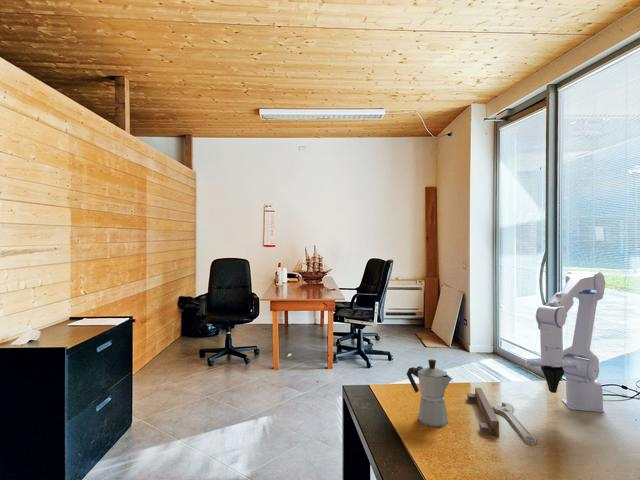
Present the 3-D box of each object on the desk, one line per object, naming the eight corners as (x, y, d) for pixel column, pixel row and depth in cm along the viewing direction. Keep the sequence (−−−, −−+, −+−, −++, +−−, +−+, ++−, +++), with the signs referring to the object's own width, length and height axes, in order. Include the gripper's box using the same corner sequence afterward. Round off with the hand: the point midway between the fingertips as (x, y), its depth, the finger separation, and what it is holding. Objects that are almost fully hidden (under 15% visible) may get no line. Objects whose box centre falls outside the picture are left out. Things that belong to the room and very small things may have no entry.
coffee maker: (459, 422, 115) (458, 361, 116) (446, 432, 109) (445, 367, 109) (414, 408, 125) (414, 352, 126) (400, 417, 119) (399, 357, 119)
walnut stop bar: (481, 400, 132) (481, 388, 132) (499, 436, 106) (498, 421, 106) (467, 399, 133) (467, 387, 133) (481, 434, 107) (481, 419, 107)
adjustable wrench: (538, 447, 101) (538, 440, 101) (511, 445, 103) (511, 438, 103) (510, 407, 126) (510, 402, 126) (489, 406, 127) (489, 401, 127)
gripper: (529, 348, 115) (530, 394, 114) (584, 350, 111) (585, 398, 111) (522, 342, 121) (523, 386, 121) (574, 344, 118) (575, 389, 118)
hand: (552, 391), depth 117 cm, fingers closed
